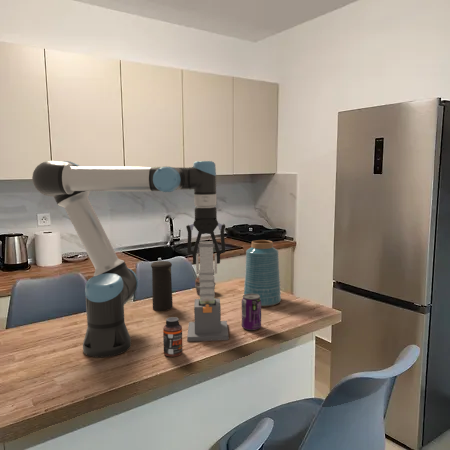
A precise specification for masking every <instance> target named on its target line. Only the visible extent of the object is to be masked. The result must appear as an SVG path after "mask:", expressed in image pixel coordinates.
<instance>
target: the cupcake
mask: <svg viewBox="0 0 450 450" xmlns="http://www.w3.org/2000/svg"><path fill="white" fill-rule="evenodd" d="M199 278H200V275H199V274H196V279H195V280H194V281H195V282H194V287H195V290H196V295H197V296H198V297H200V289H199V287H200V282H199ZM214 286H215V287H216V282H215V281H214Z"/></svg>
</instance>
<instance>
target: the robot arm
mask: <svg viewBox="0 0 450 450" xmlns="http://www.w3.org/2000/svg"><path fill="white" fill-rule="evenodd" d="M32 184H33V186H34V188H35V189H36V190H37V191H38V192H39V193H40V194H42V195H44V196H47V197H53V198H54V201H55V202H56V204H57V206H59V207H62V208H64V210H65V212H66V213H67V216H68V218H69V220H70V222H71V224H72V226H73V227H74V229H75V231H76V234H77V235H78V238H79V239H80V241H81V244H82V246H83V247H84V250H85V252H86V253H87V256H88V258H89V259H90V261H91V263H92V265H93V267H94V269H95V270H94V272H93V273H94V274H93V276H91V277H90V278H88V280H87V281H86V283H85V289H84V295H85V308H86V309H85V310H86V323H87V327H86V332H85V334H84V339H83V343H82V353H83V354H84V355H86V356H88V357H92V358H107V357H108V358H110V357H114V356H118V355H120V354H123V353H125V352H127V351H128V350H129V349H130V348H131V346H132V339H131V336H130V335H131V334H130V333H129V331H128V328H127V325H126V323H125V305H126V304H127V303H128V301H130V300H131V299H132V298H133V297H134V296H135V294H136V292H137V290H138V286H139V278H138V276H137V274H136V273H135V272H134V271H133V269H130V268H129V267H128V266H127V263H126V261H125V260H123V259H120V258H119V256H117V253H116V251H115V249H114V247H113V246H112V243H111V241H110V239H109V237H108V235H107V234H106V232H105V229H104V228H103V225H102V223H101V221H100V219H99V217H98V215H97V213H96V212H95V209H94V207H93V205H92V203H91V201H90V199H89V195H90V194H91V192H163V193H171V192H173V191H178V190H183V191H184V190H193V194H194V195H193V196H194V197H193V198H194V199H193V201H194V206H195V208H194V220H193V221H194V222H192V223H190V224H189V223H188V224H186V227H185V228H186V231H187V251H186V252H187V254H189V255H192V264H193V265H196V266H195V267H196V270H195V271H196V272H195V273H196V275H199V270H200V258H199V253H197V252H198V250H199V247H198V244H199V242H201V238H202V235H210V237H211V241H213V243H214V247H213V248H214V249H215V252H216V253H213V258H214V275H216V274H218V264H221V254H224V253H226V242H225V229H226V225H225V223H220V222H219V221H218V219H217V218H218V217H217V211H218V209H217V207H216V206H217V169H216V163H215V162H214V161H212V160H211V161H210V160H202V161H201V160H200V161H194V162H193V165H192V166H191V167H173V166H81V165H79V164H77V163H75V162H72V161H68V160H63V161H60V160H45V161H43V162H40V163H39V164H38V165H37V166H36V167H35V168H34V170H33V172H32ZM217 227H218V230H219V231H220V233H219V235H220V245H221V247H219V245H218V242H217V238H216V235H215V232H214V231H215V230H216V229H217ZM194 228H195V230H196V231H197V236H196V240H195V243H194V247H193V249H192V236H193V235H192V231H193V229H194ZM220 248H221V249H220Z"/></svg>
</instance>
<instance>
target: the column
mask: <svg viewBox="0 0 450 450" xmlns="http://www.w3.org/2000/svg"><path fill="white" fill-rule="evenodd" d="M198 248H199V274H198V275H200V278H199V282H200V287H199V289H200V296H199V299H200V304H201V306H206V304H209V305H214V303H215V299H216V298H215V296H216V295H215V294H216V293H215V289H216V288H215V287H216V285H215V286H214V282H215V276H214V275H215V268H214V248H215V247H214V243H213V241H212V240H209V241H207V240H206V241H201V240H200V242H199V244H198Z"/></svg>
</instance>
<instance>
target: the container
mask: <svg viewBox="0 0 450 450" xmlns="http://www.w3.org/2000/svg"><path fill="white" fill-rule="evenodd" d="M172 266H173V264H172V262H170V261H168V260H167V261H166V260H159V261H157V260H156V261H154V262H152V263H151V264H150V267H151V275H152V276H151V279H152V280H151V284H152V292H151V293H152V310H153V311H155V312H165V311H169V310H171V309H173V304H174V303H173V288H172V287H173V286H172Z"/></svg>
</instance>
